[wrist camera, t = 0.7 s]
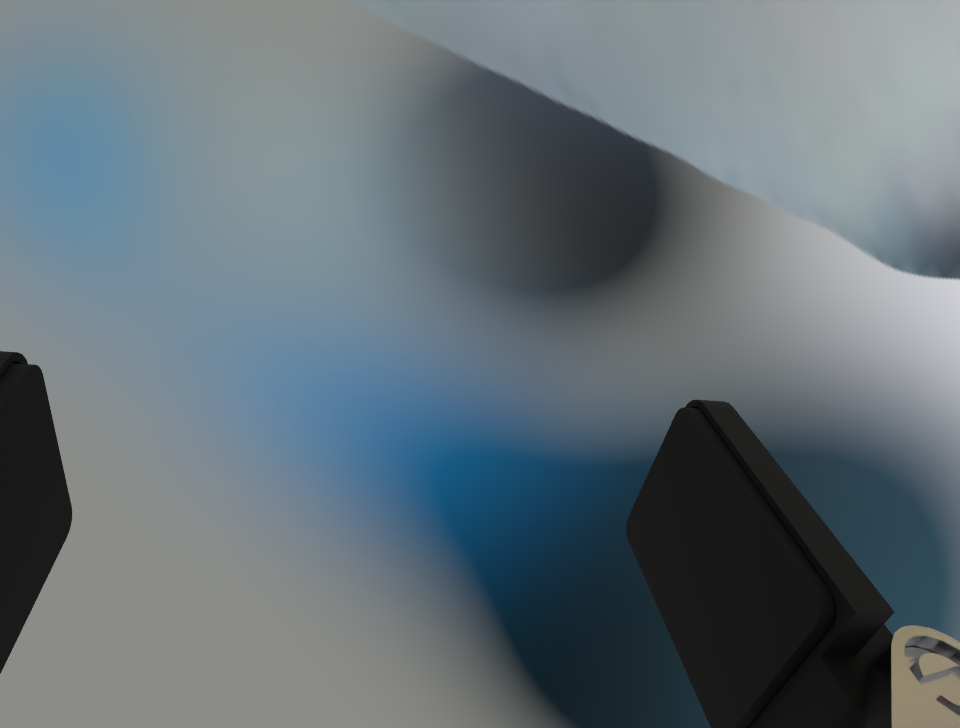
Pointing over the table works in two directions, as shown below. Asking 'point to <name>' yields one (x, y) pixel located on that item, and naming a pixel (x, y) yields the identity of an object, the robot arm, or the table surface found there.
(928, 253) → the table surface
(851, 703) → the robot arm
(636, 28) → the table surface
